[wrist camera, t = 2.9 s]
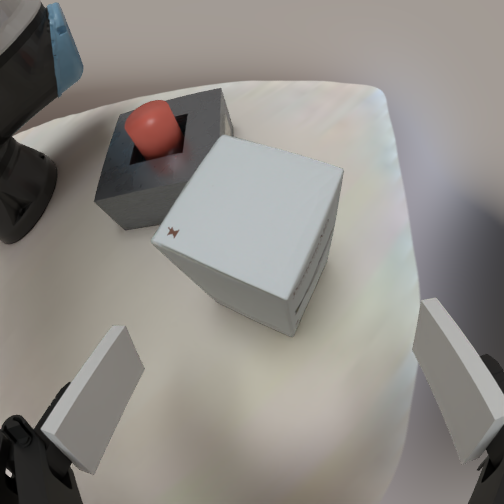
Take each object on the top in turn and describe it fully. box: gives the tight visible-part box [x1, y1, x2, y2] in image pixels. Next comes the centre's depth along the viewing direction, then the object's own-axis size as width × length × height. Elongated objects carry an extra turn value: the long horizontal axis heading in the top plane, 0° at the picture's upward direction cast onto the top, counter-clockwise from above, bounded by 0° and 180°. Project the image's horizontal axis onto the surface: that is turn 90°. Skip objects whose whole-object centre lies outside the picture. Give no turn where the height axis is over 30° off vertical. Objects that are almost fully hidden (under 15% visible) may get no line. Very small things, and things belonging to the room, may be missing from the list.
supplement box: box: [151, 135, 344, 337], centre depth 19 cm, size 7×7×13 cm
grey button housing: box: [94, 88, 233, 230], centre depth 29 cm, size 12×12×6 cm
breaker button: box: [125, 100, 185, 161], centre depth 25 cm, size 4×4×5 cm
